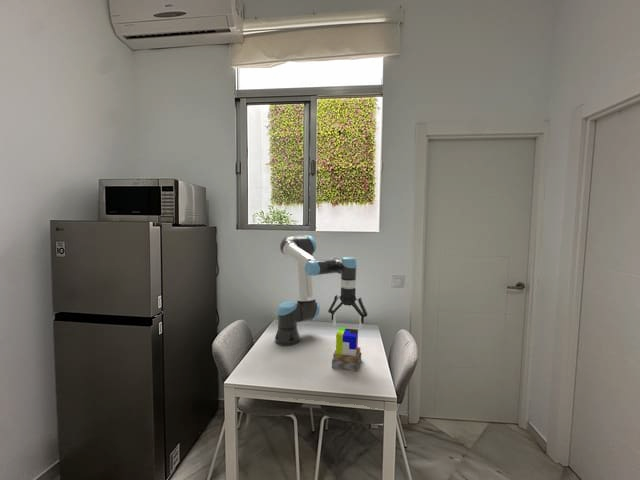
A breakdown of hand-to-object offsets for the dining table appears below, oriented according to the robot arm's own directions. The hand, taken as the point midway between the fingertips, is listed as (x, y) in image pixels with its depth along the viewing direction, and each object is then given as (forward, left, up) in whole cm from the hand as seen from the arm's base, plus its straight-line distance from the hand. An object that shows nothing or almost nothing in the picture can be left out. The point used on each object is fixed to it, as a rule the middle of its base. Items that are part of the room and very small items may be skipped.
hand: (347, 327), depth 159 cm
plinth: (0, 0, -19) cm, 19 cm away
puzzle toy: (0, 0, -13) cm, 13 cm away
